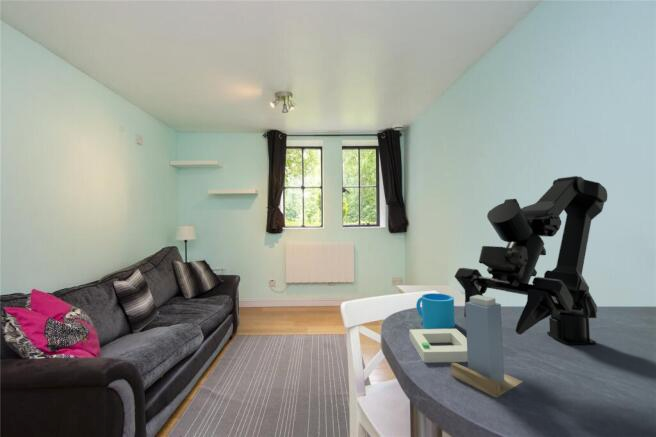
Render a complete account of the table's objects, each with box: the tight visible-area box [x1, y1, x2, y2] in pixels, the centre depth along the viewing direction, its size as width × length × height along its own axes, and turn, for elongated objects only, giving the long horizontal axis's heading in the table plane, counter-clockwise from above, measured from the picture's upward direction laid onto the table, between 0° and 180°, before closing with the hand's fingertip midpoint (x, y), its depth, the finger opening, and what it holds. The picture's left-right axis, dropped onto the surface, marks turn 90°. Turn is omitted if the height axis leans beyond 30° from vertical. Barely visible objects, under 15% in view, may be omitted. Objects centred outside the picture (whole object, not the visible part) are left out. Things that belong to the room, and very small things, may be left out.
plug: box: [464, 295, 505, 383], centre depth 50 cm, size 4×4×14 cm
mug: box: [415, 293, 456, 329], centre depth 79 cm, size 12×8×8 cm
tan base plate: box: [450, 362, 524, 398], centre depth 50 cm, size 8×8×3 cm
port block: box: [408, 328, 468, 364], centre depth 62 cm, size 11×12×4 cm
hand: (490, 325), depth 51 cm, fingers open, 9 cm apart
